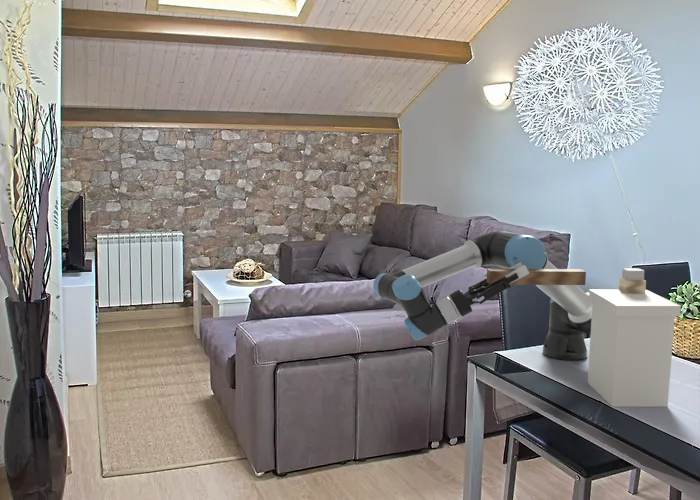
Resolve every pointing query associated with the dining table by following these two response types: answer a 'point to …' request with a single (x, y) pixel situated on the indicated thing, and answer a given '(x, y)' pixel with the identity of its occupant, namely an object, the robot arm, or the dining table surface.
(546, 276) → the walnut block
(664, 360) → the cream stand
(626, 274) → the grey offcut
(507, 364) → the dining table surface
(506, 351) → the dining table surface
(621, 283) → the birch offcut
